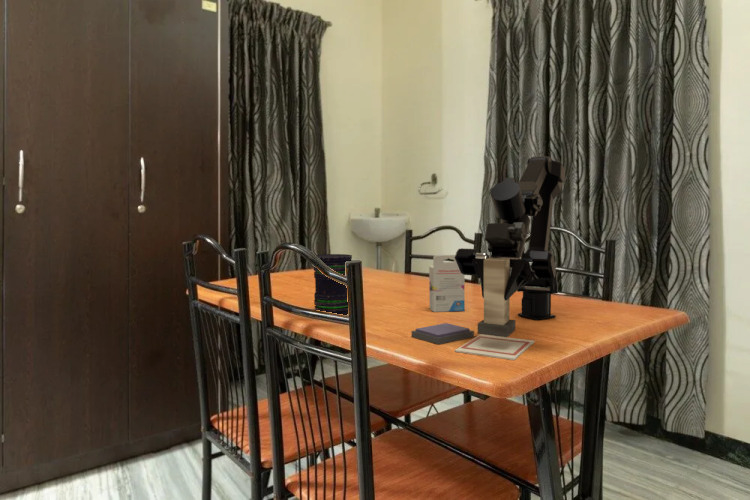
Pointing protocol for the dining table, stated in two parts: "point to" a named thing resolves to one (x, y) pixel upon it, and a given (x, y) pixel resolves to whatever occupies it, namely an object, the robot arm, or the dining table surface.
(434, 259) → the ink box
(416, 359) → the dining table surface
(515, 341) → the paper
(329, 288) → the storage jar
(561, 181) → the robot arm
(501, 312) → the stamp
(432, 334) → the ink pad
